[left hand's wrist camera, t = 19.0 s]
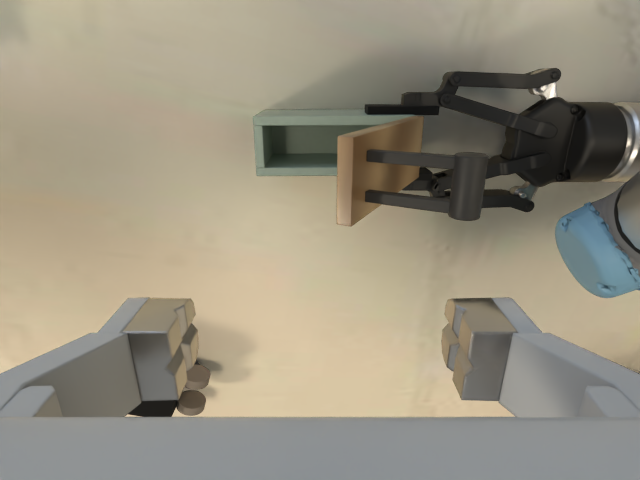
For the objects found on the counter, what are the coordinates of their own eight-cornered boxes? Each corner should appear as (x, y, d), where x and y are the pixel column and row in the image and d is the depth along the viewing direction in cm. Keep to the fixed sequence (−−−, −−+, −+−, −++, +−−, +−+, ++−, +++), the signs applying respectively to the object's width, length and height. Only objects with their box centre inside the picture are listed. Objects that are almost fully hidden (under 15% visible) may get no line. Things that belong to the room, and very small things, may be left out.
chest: (267, 159, 47) (256, 176, 38) (264, 109, 45) (252, 116, 36) (395, 158, 47) (412, 175, 38) (398, 108, 45) (416, 115, 36)
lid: (336, 224, 26) (470, 246, 22) (337, 135, 24) (484, 145, 20) (407, 176, 38) (500, 185, 35) (412, 116, 36) (511, 119, 33)
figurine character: (216, 347, 57) (101, 331, 54) (208, 386, 50) (77, 370, 48) (208, 384, 60) (98, 371, 57) (200, 426, 53) (75, 414, 50)
